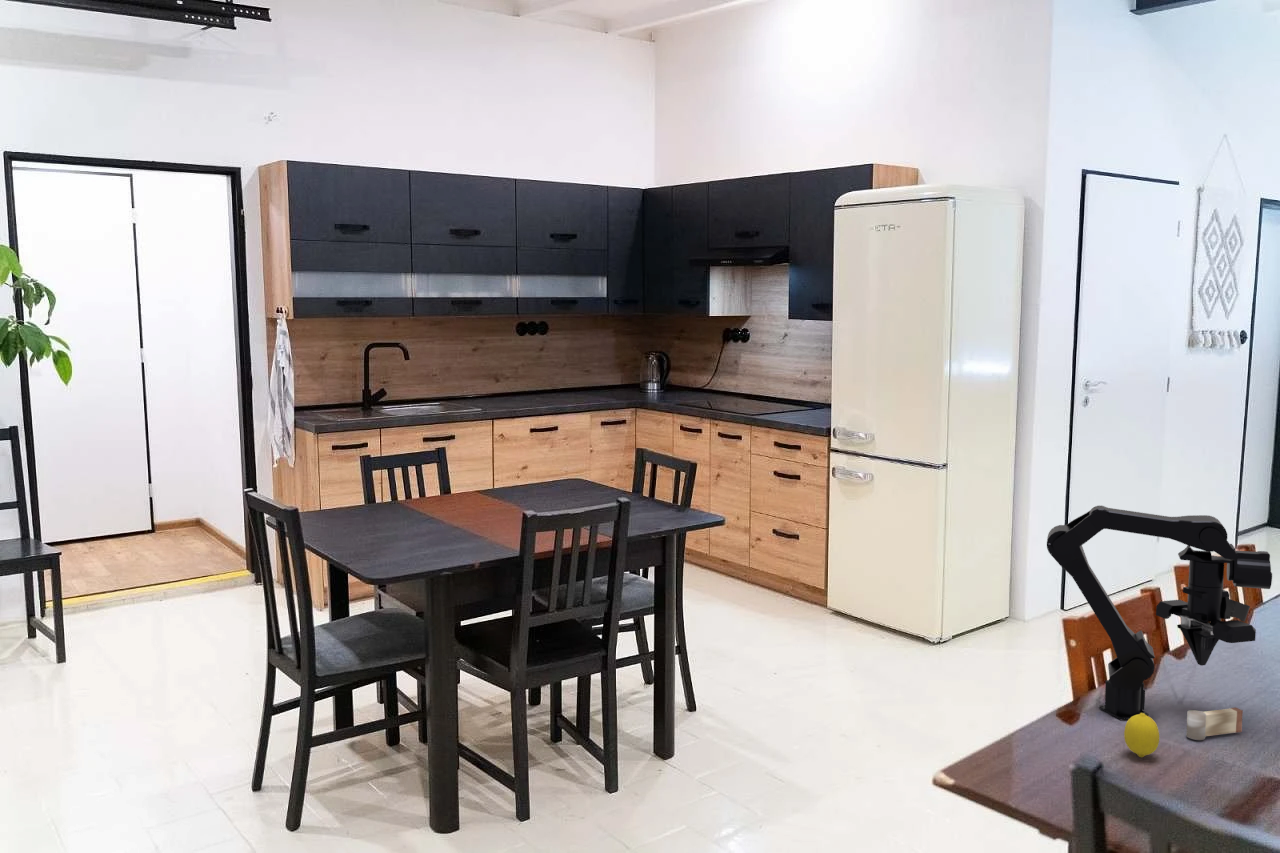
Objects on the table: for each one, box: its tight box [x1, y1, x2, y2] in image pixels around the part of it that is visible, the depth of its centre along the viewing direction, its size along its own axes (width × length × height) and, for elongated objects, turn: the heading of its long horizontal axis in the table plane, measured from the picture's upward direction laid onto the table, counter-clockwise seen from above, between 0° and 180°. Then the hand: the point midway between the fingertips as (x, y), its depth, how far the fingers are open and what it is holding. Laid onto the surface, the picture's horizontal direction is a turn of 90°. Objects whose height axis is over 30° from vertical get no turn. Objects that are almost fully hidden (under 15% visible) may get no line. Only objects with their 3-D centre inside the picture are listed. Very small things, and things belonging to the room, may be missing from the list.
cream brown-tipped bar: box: [1186, 706, 1244, 741], centre depth 189 cm, size 11×3×4 cm, turn 104°
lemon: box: [1123, 713, 1160, 758], centre depth 180 cm, size 6×6×8 cm
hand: (1201, 664), depth 194 cm, fingers closed
